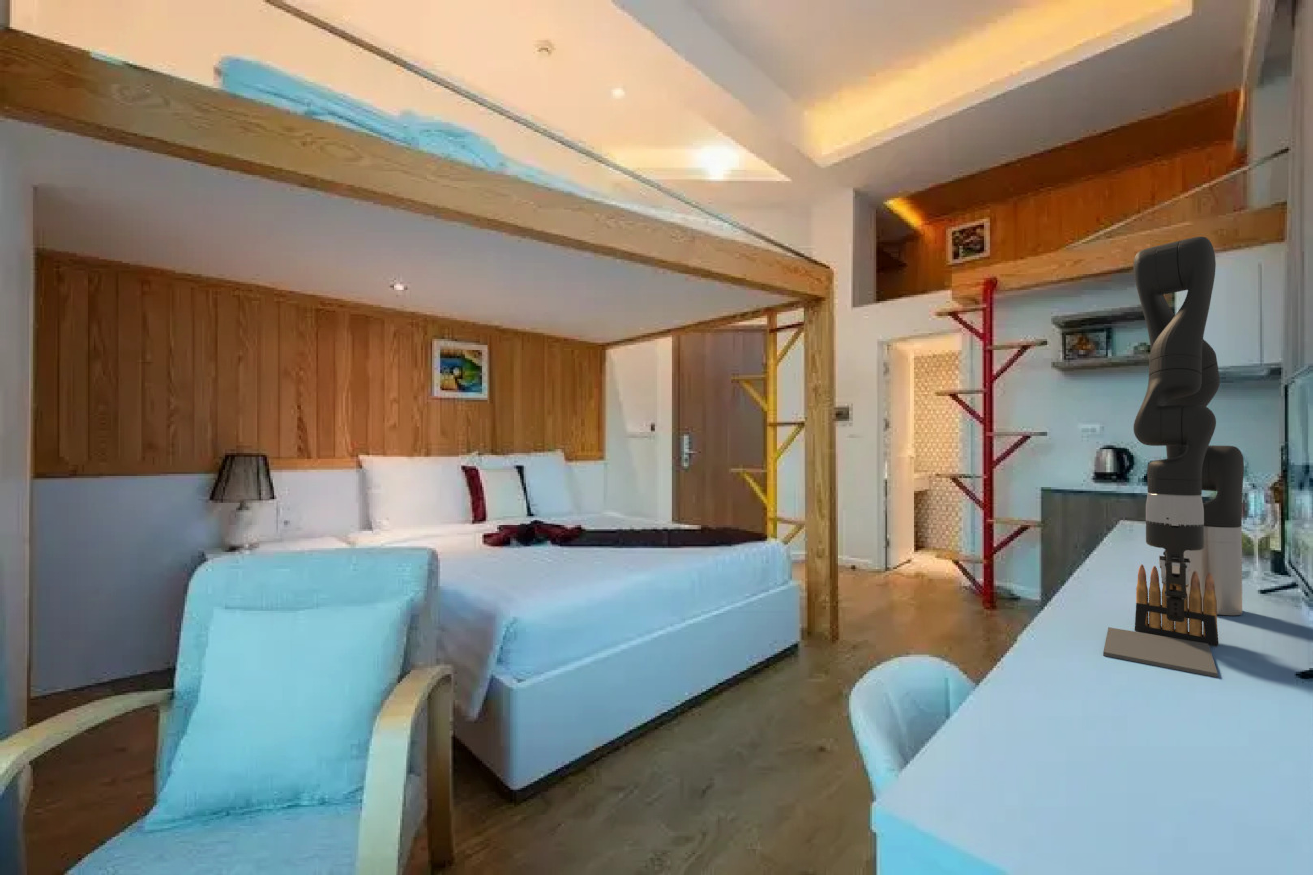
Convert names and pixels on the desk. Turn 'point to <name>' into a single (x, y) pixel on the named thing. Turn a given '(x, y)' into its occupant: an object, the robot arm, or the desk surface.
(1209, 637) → the ammunition clip
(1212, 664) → the mat
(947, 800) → the desk surface
